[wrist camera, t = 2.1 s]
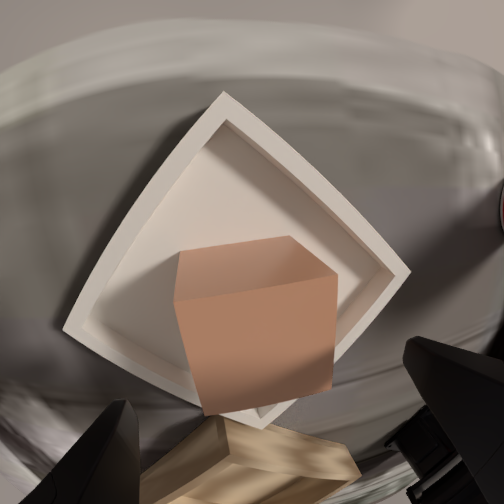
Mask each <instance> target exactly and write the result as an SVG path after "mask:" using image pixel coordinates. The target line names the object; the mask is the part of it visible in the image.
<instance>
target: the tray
mask: <svg viewBox="0 0 504 504" xmlns="http://www.w3.org/2000/svg"><path fill="white" fill-rule="evenodd" d="M288 235H290V236H291V237H292V238H293V239H295V240H296V241H297V242H299V243H300V244H301V245H302V246H304V247H305V248H306V249H307V250H309V251H310V252H311V253H312V254H314V255H315V256H316V257H317V258H319V259H320V260H321V261H322V262H324V263H325V264H326V265H327V266H329V267H330V268H331V269H332V270H333V271H335V272H336V273H337V274H338V298H337V321H336V338H335V352H334V363H335V362H336V361H337V360H338V359H339V358H340V357H341V356H342V355H343V353H344V352H345V351H346V350H347V349H348V348H349V347H350V346H351V345H352V344H353V343H354V342H355V340H356V339H357V338H358V337H359V336H360V335H361V334H362V333H363V331H364V330H365V329H366V328H367V327H368V326H369V325H370V323H371V322H372V321H373V320H374V319H375V317H376V316H377V315H378V314H379V313H380V312H381V310H382V309H383V308H384V307H385V305H386V304H387V303H388V302H389V300H390V299H391V298H392V297H393V295H394V294H395V293H396V292H397V290H398V289H399V288H400V286H401V285H402V284H403V282H404V281H405V280H406V278H407V277H408V276H409V274H410V273H411V271H410V270H409V269H408V267H407V266H406V265H405V264H404V263H403V261H402V260H401V259H400V258H399V257H398V255H397V254H396V253H395V252H394V251H393V250H392V248H391V247H390V246H389V245H388V244H387V243H386V242H385V240H384V239H383V238H382V237H381V236H380V235H379V234H378V233H377V231H376V230H375V229H374V228H373V227H372V226H371V225H370V224H369V223H368V222H367V221H366V220H365V218H364V217H363V216H362V215H361V214H360V213H359V212H358V211H357V210H356V209H355V208H354V207H353V206H352V205H351V204H350V203H349V202H348V201H347V200H346V199H345V198H344V197H343V196H342V195H341V194H340V193H339V192H338V190H336V189H335V188H334V187H333V186H332V185H331V184H330V183H329V182H328V181H327V180H326V179H325V178H324V177H323V176H322V175H321V174H320V173H319V172H318V171H317V170H316V169H315V168H314V167H313V166H312V165H311V164H310V163H308V162H307V161H306V160H305V159H304V158H303V157H302V156H301V155H300V154H299V153H298V152H296V151H295V150H294V149H293V148H292V147H291V146H290V145H289V144H288V143H286V142H285V141H284V140H283V139H282V138H281V137H280V136H278V135H277V134H276V133H275V132H274V131H273V130H271V129H270V128H269V127H268V126H267V125H266V124H264V123H263V122H262V121H261V120H260V119H258V118H257V117H256V116H255V115H253V114H252V113H251V112H250V111H249V110H247V109H246V108H245V107H244V106H242V105H241V104H240V103H238V102H237V101H236V100H235V99H233V98H232V97H231V96H229V95H228V94H227V93H226V92H224V91H223V92H222V94H221V95H220V96H219V97H218V98H217V99H216V100H215V101H214V102H213V103H212V105H211V106H210V107H209V108H208V109H207V110H206V111H205V112H204V114H203V115H202V116H201V117H200V118H199V119H198V121H197V122H196V123H195V124H194V125H193V126H192V128H191V129H190V130H189V131H188V132H187V134H186V135H185V136H184V137H183V139H182V140H181V141H180V142H179V144H178V145H177V146H176V147H175V149H174V150H173V151H172V152H171V154H170V155H169V156H168V158H167V159H166V160H165V161H164V163H163V164H162V165H161V167H160V168H159V169H158V171H157V172H156V174H155V175H154V176H153V178H152V179H151V180H150V182H149V183H148V185H147V186H146V187H145V189H144V190H143V192H142V193H141V194H140V196H139V197H138V199H137V200H136V202H135V203H134V205H133V206H132V208H131V209H130V211H129V212H128V214H127V215H126V217H125V218H124V220H123V221H122V223H121V224H120V226H119V227H118V229H117V231H116V232H115V234H114V235H113V237H112V239H111V240H110V242H109V244H108V245H107V247H106V248H105V250H104V252H103V254H102V255H101V257H100V259H99V260H98V262H97V264H96V266H95V267H94V269H93V271H92V273H91V274H90V276H89V278H88V280H87V282H86V284H85V285H84V287H83V289H82V291H81V293H80V295H79V297H78V299H77V301H76V303H75V305H74V307H73V309H72V311H71V313H70V315H69V317H68V319H67V321H66V323H65V325H64V327H63V329H62V330H63V331H64V332H66V333H67V334H69V335H70V336H72V337H73V338H75V339H76V340H78V341H79V342H80V343H82V344H84V345H85V346H87V347H88V348H90V349H91V350H93V351H94V352H96V353H98V354H99V355H101V356H102V357H104V358H106V359H107V360H109V361H111V362H112V363H114V364H116V365H118V366H119V367H121V368H123V369H125V370H126V371H128V372H130V373H132V374H134V375H135V376H137V377H139V378H141V379H143V380H145V381H147V382H149V383H151V384H153V385H154V386H156V387H158V388H160V389H163V390H165V391H167V392H169V393H171V394H173V395H175V396H177V397H179V398H182V399H184V400H186V401H188V402H190V403H193V404H195V405H197V406H200V407H202V406H201V403H200V400H199V396H198V393H197V390H196V387H195V383H194V380H193V377H192V373H191V370H190V366H189V363H188V359H187V355H186V352H185V348H184V344H183V341H182V337H181V333H180V329H179V325H178V321H177V317H176V312H175V308H174V304H173V299H174V291H175V283H176V276H177V269H178V262H179V255H180V251H184V250H191V249H198V248H204V247H211V246H218V245H225V244H232V243H239V242H245V241H252V240H259V239H266V238H273V237H280V236H288ZM297 399H298V398H297ZM297 399H293V400H289V401H285V402H281V403H277V404H272V405H267V406H263V407H258V408H253V409H247V410H242V411H236V412H230V413H224V414H219V415H222V416H224V417H227V418H230V419H232V420H235V421H238V422H241V423H243V424H246V425H249V426H252V427H255V428H258V429H261V430H262V429H264V428H265V427H266V426H267V425H268V424H270V423H271V422H272V421H273V420H274V419H275V418H277V417H278V416H279V415H280V414H281V413H282V412H284V411H285V410H286V409H287V408H288V407H289V406H290V405H291V404H293V403H294V402H295V401H296V400H297Z"/></svg>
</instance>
